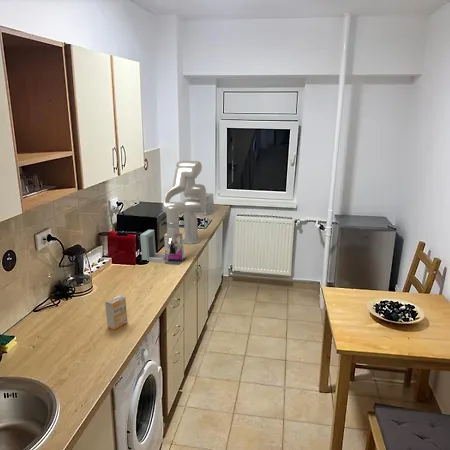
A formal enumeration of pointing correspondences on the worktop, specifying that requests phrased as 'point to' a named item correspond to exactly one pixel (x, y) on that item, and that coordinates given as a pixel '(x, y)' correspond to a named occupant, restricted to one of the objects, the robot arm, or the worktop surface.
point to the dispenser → (150, 248)
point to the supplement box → (116, 312)
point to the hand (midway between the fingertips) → (174, 251)
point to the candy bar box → (178, 248)
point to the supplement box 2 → (208, 204)
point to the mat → (175, 261)
